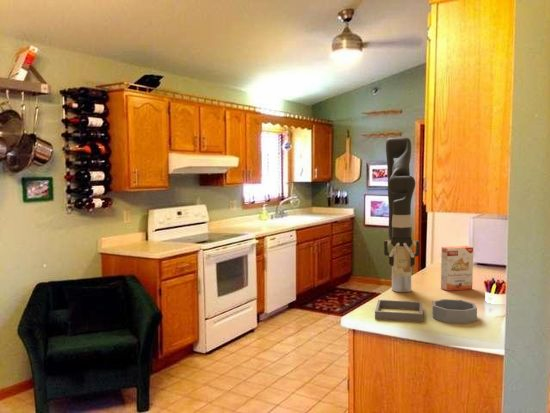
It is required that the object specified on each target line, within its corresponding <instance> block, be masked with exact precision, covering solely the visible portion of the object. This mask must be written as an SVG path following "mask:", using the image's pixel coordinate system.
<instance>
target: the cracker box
mask: <svg viewBox="0 0 550 413" xmlns="http://www.w3.org/2000/svg"><path fill="white" fill-rule="evenodd" d="M440 253H441V255H440V256H441V262H440V289H442V290H444V291H447V292H450V291H451V292H452V291H466V290H473V279H474V278H473V274H474V273H473V271H474V247H472V246H468V245H457V246H456V245H455V246H441V252H440Z"/></svg>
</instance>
